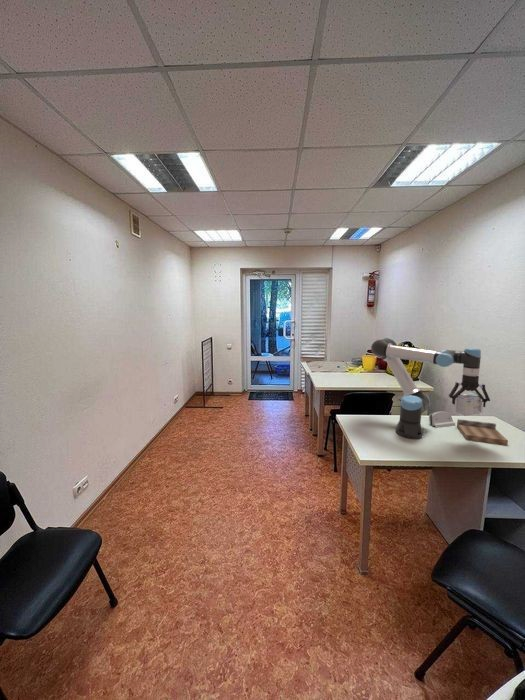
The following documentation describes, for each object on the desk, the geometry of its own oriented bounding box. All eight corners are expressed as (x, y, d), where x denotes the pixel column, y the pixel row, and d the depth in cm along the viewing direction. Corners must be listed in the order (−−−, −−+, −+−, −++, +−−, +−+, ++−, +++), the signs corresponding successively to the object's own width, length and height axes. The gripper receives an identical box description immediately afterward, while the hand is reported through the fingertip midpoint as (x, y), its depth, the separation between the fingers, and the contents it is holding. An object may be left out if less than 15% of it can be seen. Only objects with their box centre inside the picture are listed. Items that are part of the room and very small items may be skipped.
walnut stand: (465, 439, 164) (466, 430, 163) (456, 427, 180) (457, 419, 180) (507, 445, 157) (508, 435, 156) (493, 432, 173) (494, 423, 172)
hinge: (435, 428, 180) (432, 412, 182) (429, 427, 184) (426, 412, 186) (455, 425, 184) (452, 410, 186) (449, 425, 188) (446, 410, 190)
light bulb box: (469, 410, 164) (470, 393, 163) (480, 414, 158) (482, 396, 156) (454, 412, 162) (456, 394, 160) (465, 416, 155) (467, 397, 154)
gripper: (447, 374, 158) (444, 410, 161) (499, 377, 148) (496, 415, 151) (444, 372, 165) (442, 406, 168) (494, 374, 155) (491, 411, 158)
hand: (467, 410), depth 159 cm, fingers closed on light bulb box, 12 cm apart
